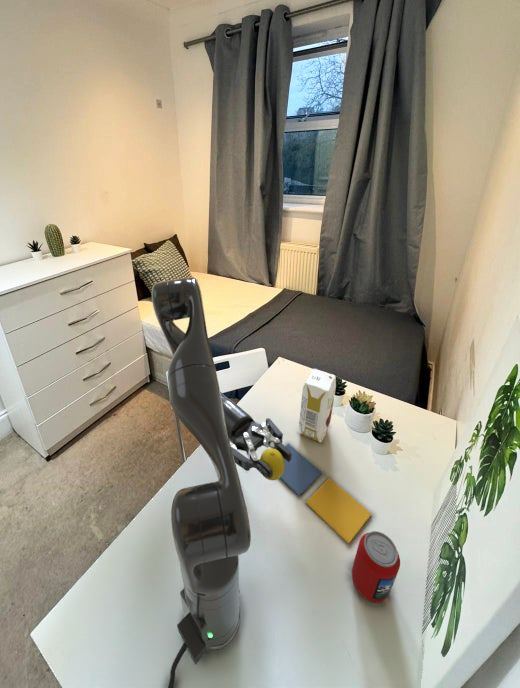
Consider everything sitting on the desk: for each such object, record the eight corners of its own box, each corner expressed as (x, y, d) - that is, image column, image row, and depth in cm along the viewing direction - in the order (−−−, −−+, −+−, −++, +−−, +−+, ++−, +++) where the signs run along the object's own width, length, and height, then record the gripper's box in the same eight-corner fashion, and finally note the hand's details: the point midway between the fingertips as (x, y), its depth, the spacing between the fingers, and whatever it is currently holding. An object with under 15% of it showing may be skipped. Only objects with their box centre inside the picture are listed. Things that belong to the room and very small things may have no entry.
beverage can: (386, 614, 59) (400, 580, 53) (347, 589, 62) (356, 555, 57) (391, 574, 64) (404, 540, 59) (354, 554, 67) (364, 519, 62)
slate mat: (299, 496, 78) (299, 495, 78) (265, 464, 86) (265, 462, 85) (321, 473, 83) (322, 471, 83) (288, 444, 91) (288, 443, 90)
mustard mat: (348, 544, 69) (349, 542, 68) (306, 503, 76) (306, 501, 76) (370, 515, 74) (371, 513, 73) (328, 479, 81) (329, 477, 81)
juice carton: (296, 435, 93) (301, 383, 85) (305, 414, 100) (311, 365, 92) (322, 446, 90) (330, 394, 82) (330, 424, 96) (339, 374, 88)
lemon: (283, 490, 71) (285, 465, 68) (257, 485, 73) (258, 461, 69) (283, 466, 76) (285, 443, 73) (260, 463, 77) (260, 439, 74)
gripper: (206, 423, 76) (258, 475, 64) (250, 393, 84) (304, 436, 72) (207, 445, 80) (257, 499, 68) (250, 415, 88) (301, 458, 76)
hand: (281, 466), depth 70 cm, fingers closed on lemon, 5 cm apart
